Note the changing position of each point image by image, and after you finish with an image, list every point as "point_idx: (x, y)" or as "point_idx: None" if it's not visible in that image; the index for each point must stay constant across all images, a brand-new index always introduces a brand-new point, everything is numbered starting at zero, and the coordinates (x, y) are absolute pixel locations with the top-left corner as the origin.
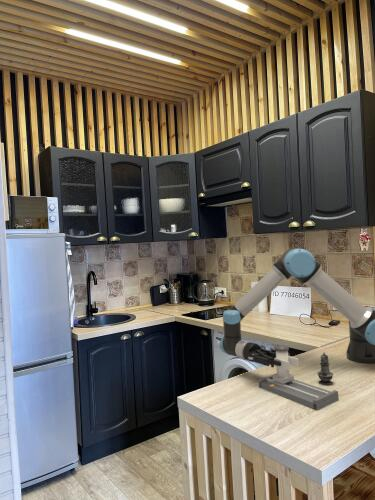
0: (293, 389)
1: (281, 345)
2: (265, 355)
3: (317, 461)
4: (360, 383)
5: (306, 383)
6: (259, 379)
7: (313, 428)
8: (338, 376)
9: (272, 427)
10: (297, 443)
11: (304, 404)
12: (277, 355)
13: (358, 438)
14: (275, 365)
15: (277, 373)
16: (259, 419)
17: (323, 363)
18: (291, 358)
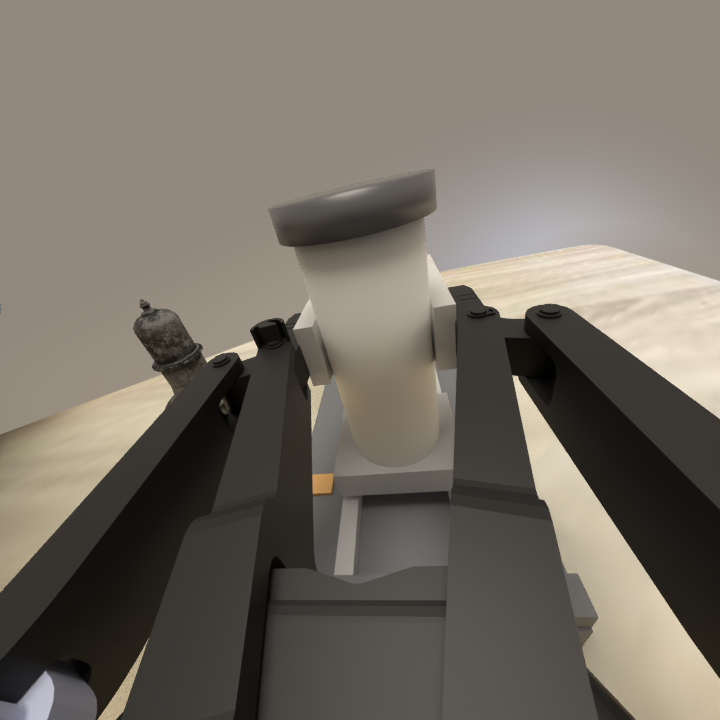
0: (436, 374)
1: (298, 202)
2: (483, 414)
3: (591, 248)
4: None
5: (320, 404)
6: (586, 610)
7: (527, 289)
8: (126, 439)
9: (658, 304)
10: (606, 269)
11: None
12: (427, 269)
13: (466, 269)
14: (455, 364)
15: (436, 425)
16: (708, 336)
17: (192, 344)
18: None
